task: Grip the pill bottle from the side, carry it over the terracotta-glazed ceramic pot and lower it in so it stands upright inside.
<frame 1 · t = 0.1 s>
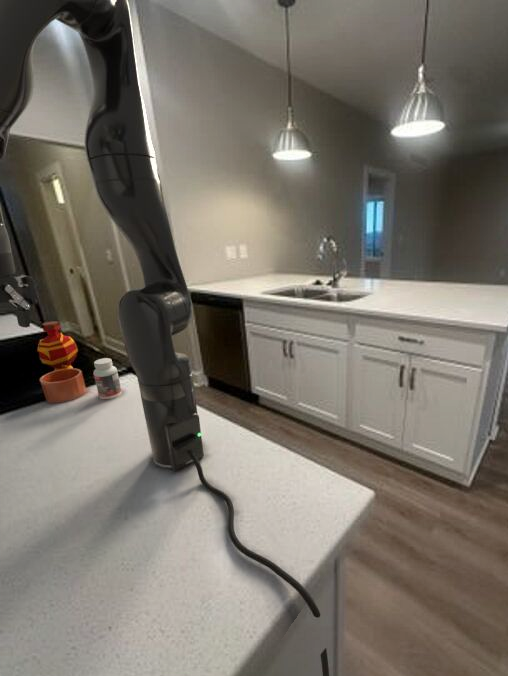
hand: (3, 332, 68), 22 cm above the counter, tool pointing down, fingers open, 8 cm apart
potion bottle: (63, 370, 106), on the counter
pill bottle: (111, 395, 91), on the counter
pot: (66, 394, 92), on the counter
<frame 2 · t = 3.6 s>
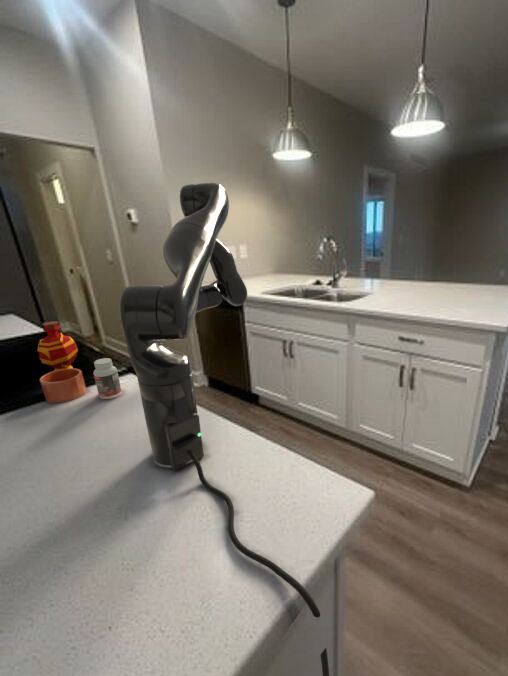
hand: (133, 313, 90), 20 cm above the counter, tool horizontal, fingers open, 8 cm apart
nothing on the counter moved.
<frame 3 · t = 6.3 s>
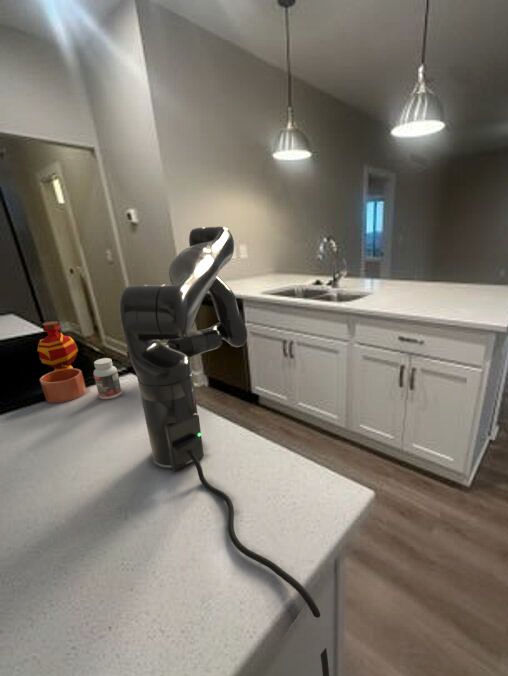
hand: (134, 359, 93), 8 cm above the counter, tool horizontal, fingers open, 8 cm apart
nothing on the counter moved.
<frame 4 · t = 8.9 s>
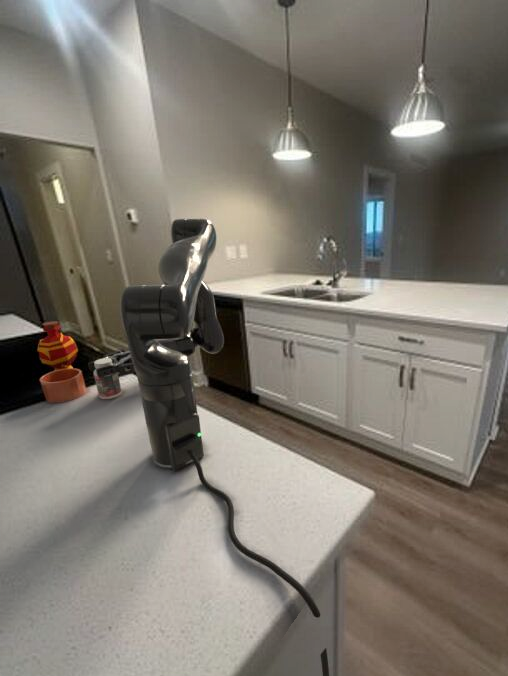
hand: (93, 370, 86), 8 cm above the counter, tool horizontal, fingers closed on pill bottle, 5 cm apart
pill bottle: (111, 395, 91), on the counter, touching gripper
everything else where it was.
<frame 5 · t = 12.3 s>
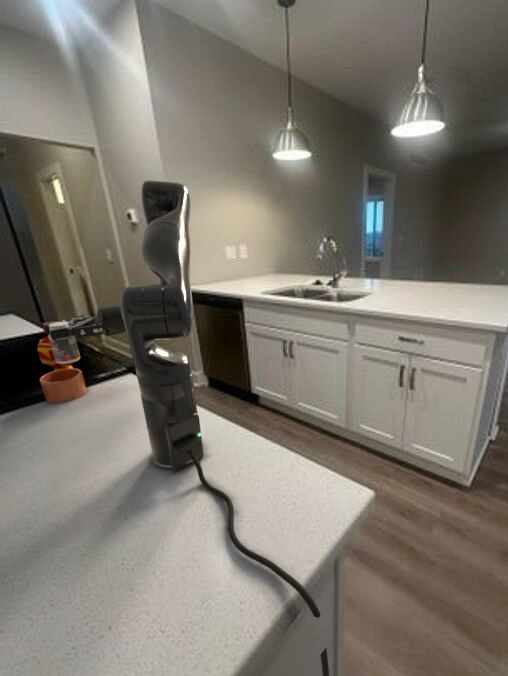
hand: (47, 333, 83), 18 cm above the counter, tool horizontal, fingers closed on pill bottle, 5 cm apart
pill bottle: (69, 361, 88), point 9 cm above the counter, touching gripper
everything else where it was.
when the fingers open (9 cm above the counter, at t = 15.7 s): pill bottle stays where it is, resting on pot.
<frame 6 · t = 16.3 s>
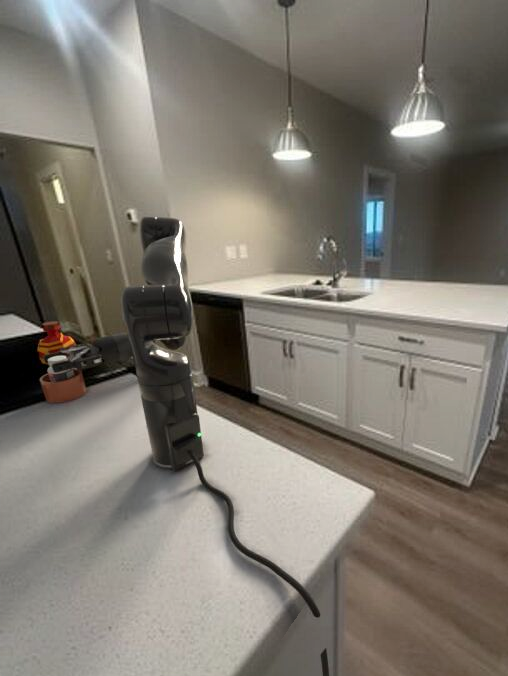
hand: (48, 363, 87), 9 cm above the counter, tool horizontal, fingers open, 8 cm apart
pill bottle: (66, 392, 92), resting on pot
everything else where it was.
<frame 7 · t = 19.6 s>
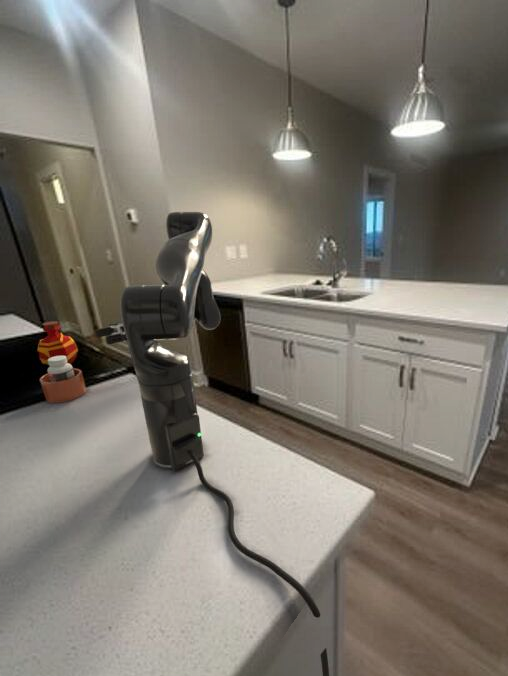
hand: (100, 337, 93), 14 cm above the counter, tool horizontal, fingers open, 8 cm apart
nothing on the counter moved.
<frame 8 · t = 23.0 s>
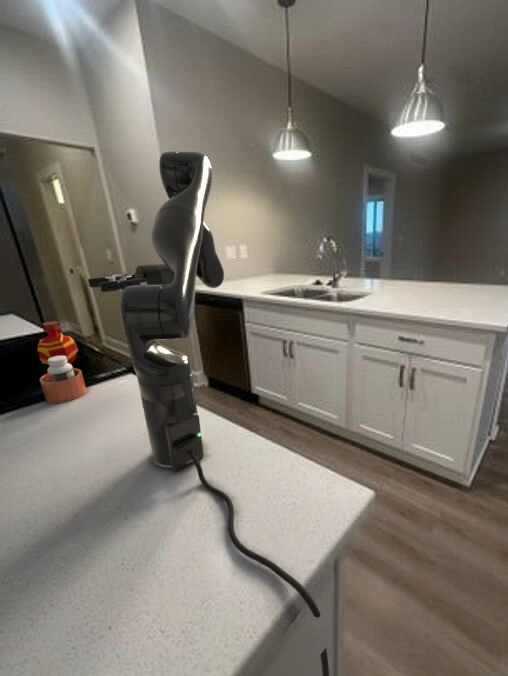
hand: (94, 285, 85), 28 cm above the counter, tool horizontal, fingers open, 8 cm apart
nothing on the counter moved.
at the end: pill bottle 0.2 cm off-centre in the pot, point 0.3 cm above the pot's base; pill bottle tilted 0°; the gripper is holding nothing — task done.
